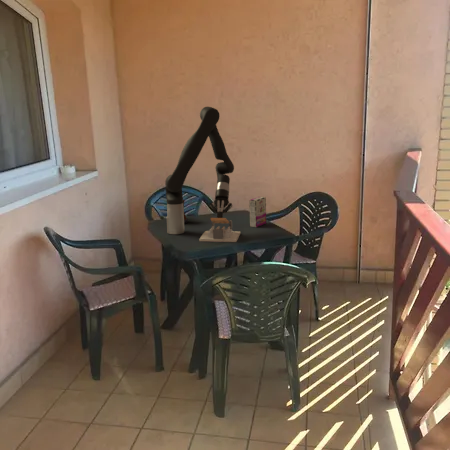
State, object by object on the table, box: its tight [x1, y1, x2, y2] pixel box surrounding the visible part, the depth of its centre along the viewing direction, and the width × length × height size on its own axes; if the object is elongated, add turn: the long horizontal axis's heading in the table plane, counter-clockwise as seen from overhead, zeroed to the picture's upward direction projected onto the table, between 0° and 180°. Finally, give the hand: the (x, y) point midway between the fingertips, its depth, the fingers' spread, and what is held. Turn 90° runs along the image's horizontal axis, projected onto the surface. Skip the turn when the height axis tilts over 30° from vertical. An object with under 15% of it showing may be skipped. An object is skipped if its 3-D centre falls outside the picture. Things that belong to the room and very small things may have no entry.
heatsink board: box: [198, 219, 241, 243], centre depth 271 cm, size 20×17×8 cm
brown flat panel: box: [210, 217, 230, 224], centre depth 270 cm, size 8×1×13 cm
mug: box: [183, 199, 189, 225], centre depth 308 cm, size 18×12×15 cm, turn 16°
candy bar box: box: [248, 196, 267, 228], centre depth 294 cm, size 11×5×16 cm, turn 143°
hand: (219, 218), depth 269 cm, fingers closed
